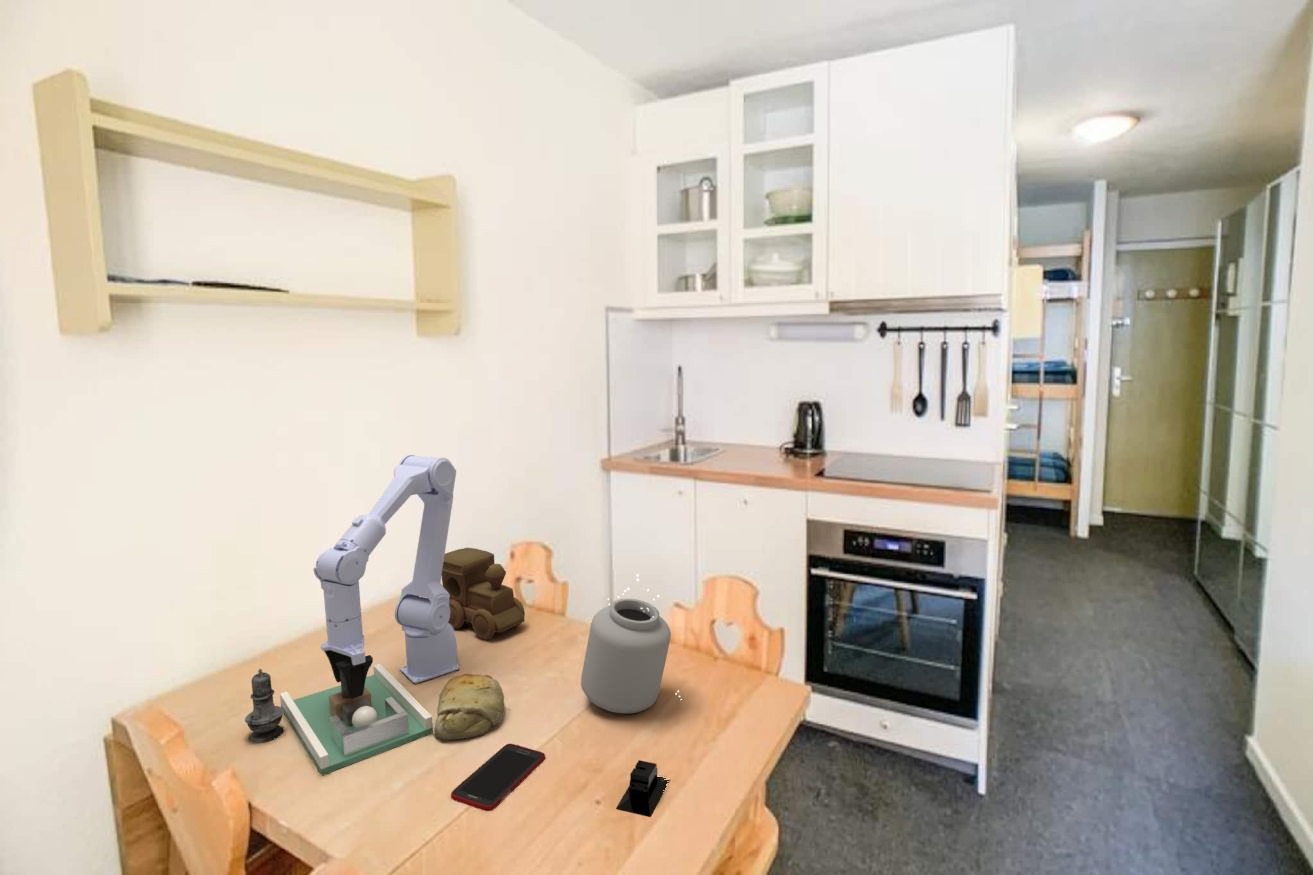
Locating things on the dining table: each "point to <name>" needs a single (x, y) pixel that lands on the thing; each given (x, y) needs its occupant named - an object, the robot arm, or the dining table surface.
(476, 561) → the wooden toy train
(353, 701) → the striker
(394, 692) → the pitch
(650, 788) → the black stepped block
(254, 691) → the salt shaker
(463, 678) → the pastry
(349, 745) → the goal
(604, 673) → the jar
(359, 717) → the ball
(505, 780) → the cell phone
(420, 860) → the dining table surface
